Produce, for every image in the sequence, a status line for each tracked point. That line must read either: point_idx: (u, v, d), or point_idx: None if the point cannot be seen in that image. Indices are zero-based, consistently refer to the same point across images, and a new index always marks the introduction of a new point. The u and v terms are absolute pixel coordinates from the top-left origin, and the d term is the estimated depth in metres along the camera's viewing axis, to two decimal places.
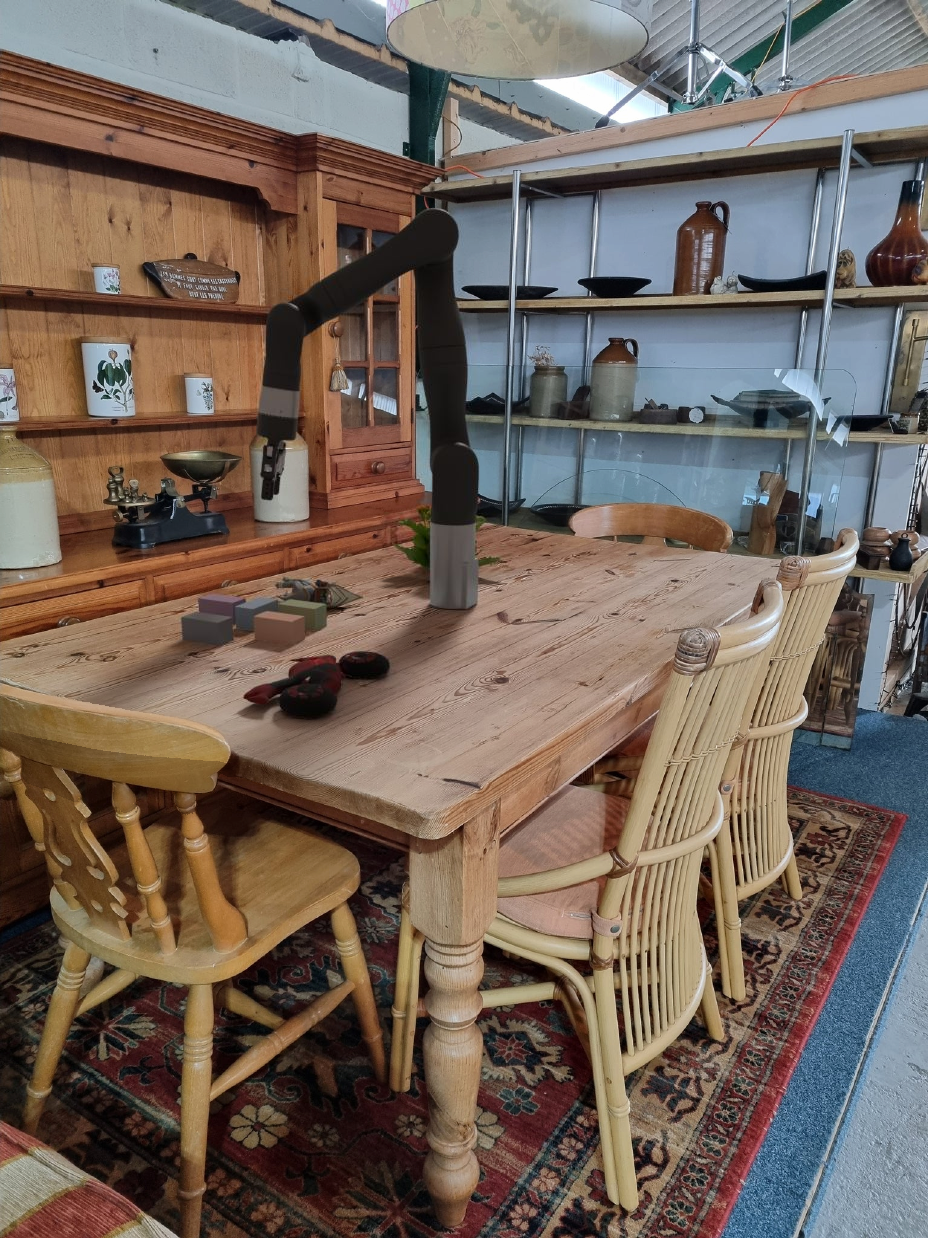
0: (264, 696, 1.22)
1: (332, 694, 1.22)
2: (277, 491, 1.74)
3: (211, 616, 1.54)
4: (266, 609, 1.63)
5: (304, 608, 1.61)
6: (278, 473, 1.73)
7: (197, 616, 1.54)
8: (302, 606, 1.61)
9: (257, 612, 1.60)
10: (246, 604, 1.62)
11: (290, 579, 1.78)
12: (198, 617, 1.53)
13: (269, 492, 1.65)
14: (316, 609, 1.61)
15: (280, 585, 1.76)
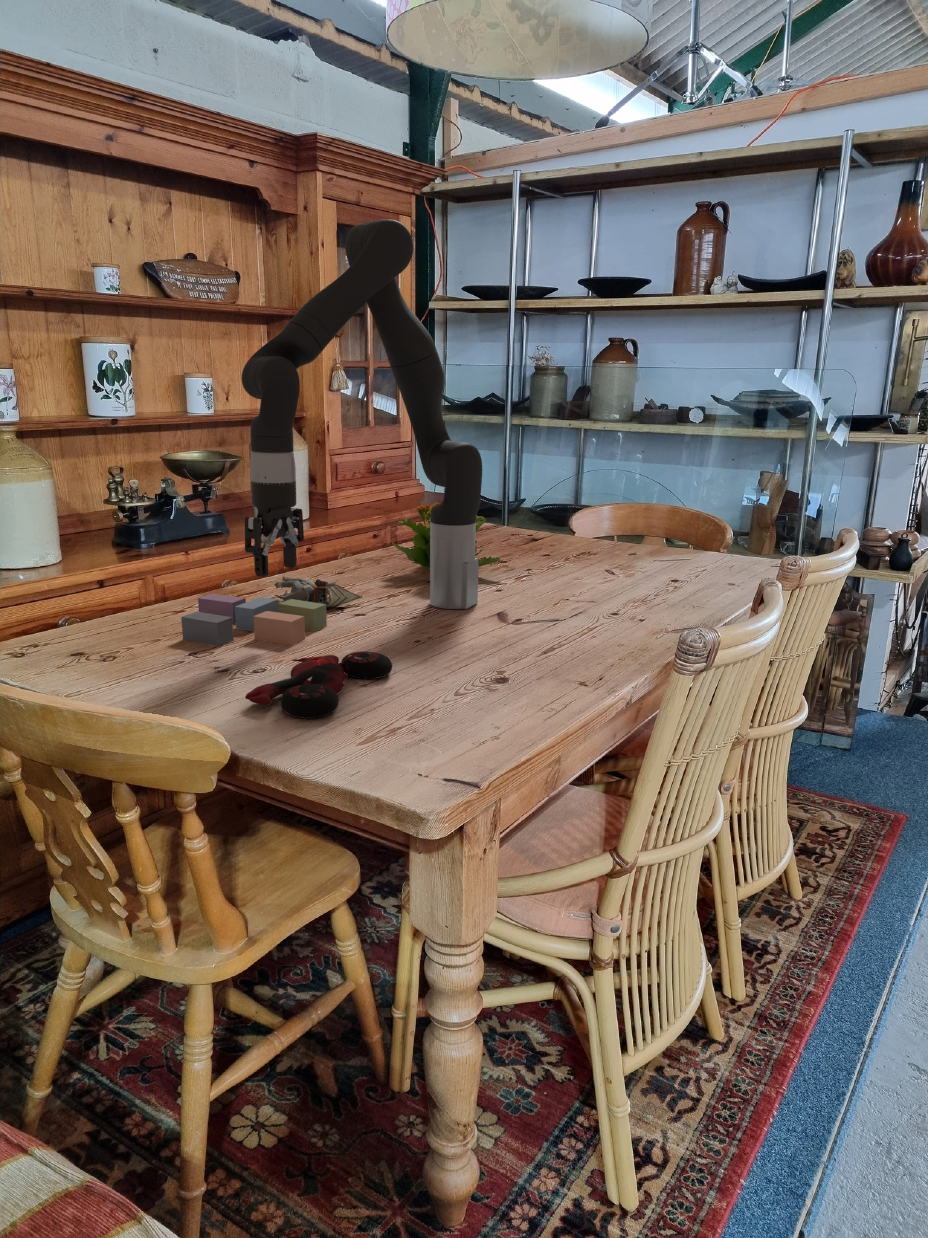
0: (266, 696, 1.22)
1: (334, 694, 1.22)
2: (292, 564, 1.55)
3: (211, 616, 1.54)
4: (266, 609, 1.63)
5: (303, 608, 1.61)
6: (292, 544, 1.55)
7: (197, 616, 1.54)
8: (301, 606, 1.61)
9: (257, 612, 1.60)
10: (246, 604, 1.62)
11: (289, 579, 1.78)
12: (198, 617, 1.53)
13: (260, 568, 1.47)
14: (315, 609, 1.60)
15: (279, 584, 1.76)
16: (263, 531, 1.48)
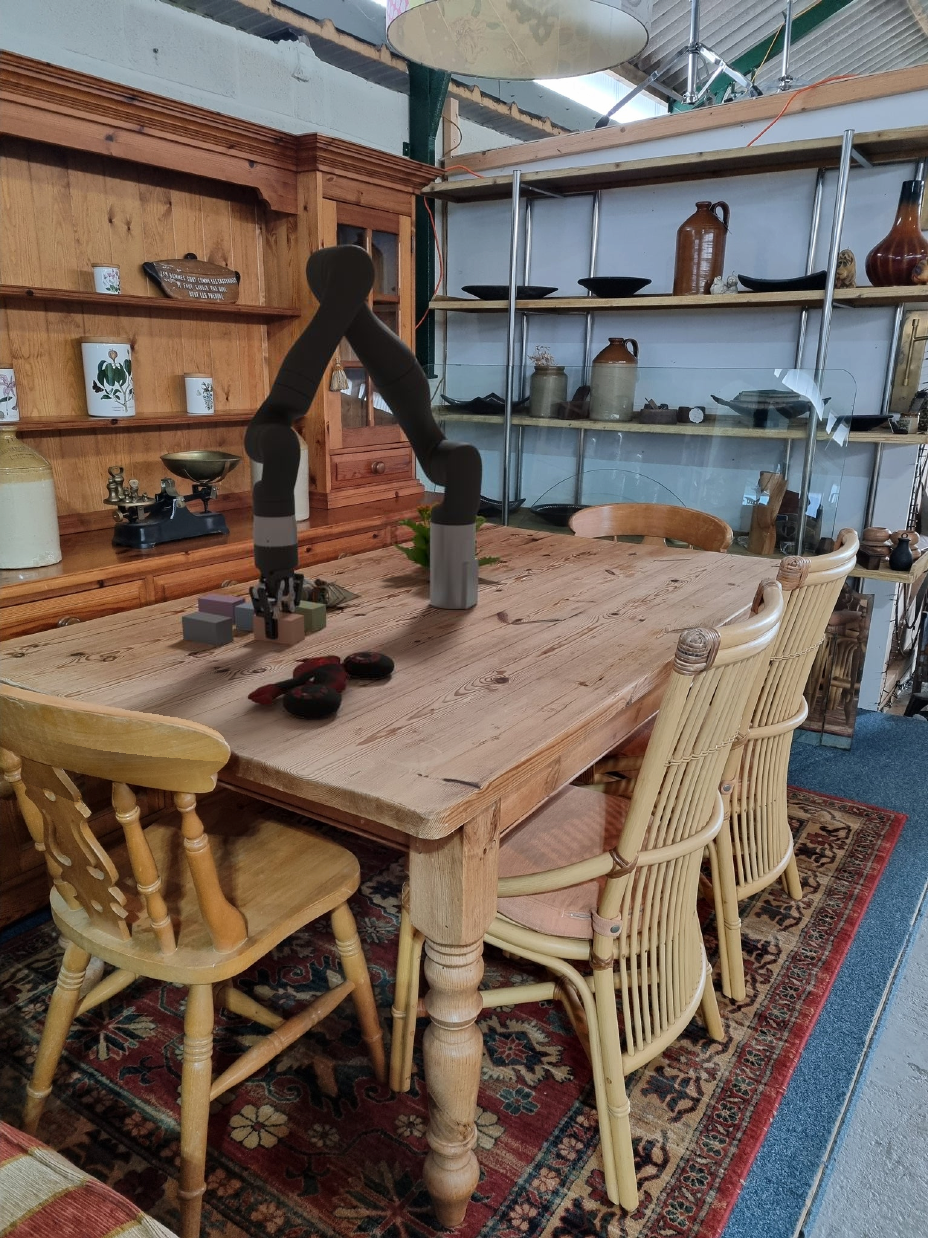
0: (268, 696, 1.22)
1: (336, 694, 1.22)
2: None
3: (211, 616, 1.54)
4: None
5: (302, 608, 1.61)
6: (288, 609, 1.56)
7: (197, 616, 1.54)
8: (301, 606, 1.61)
9: None
10: (246, 604, 1.62)
11: None
12: (198, 617, 1.53)
13: (270, 631, 1.52)
14: (314, 609, 1.60)
15: None
16: None
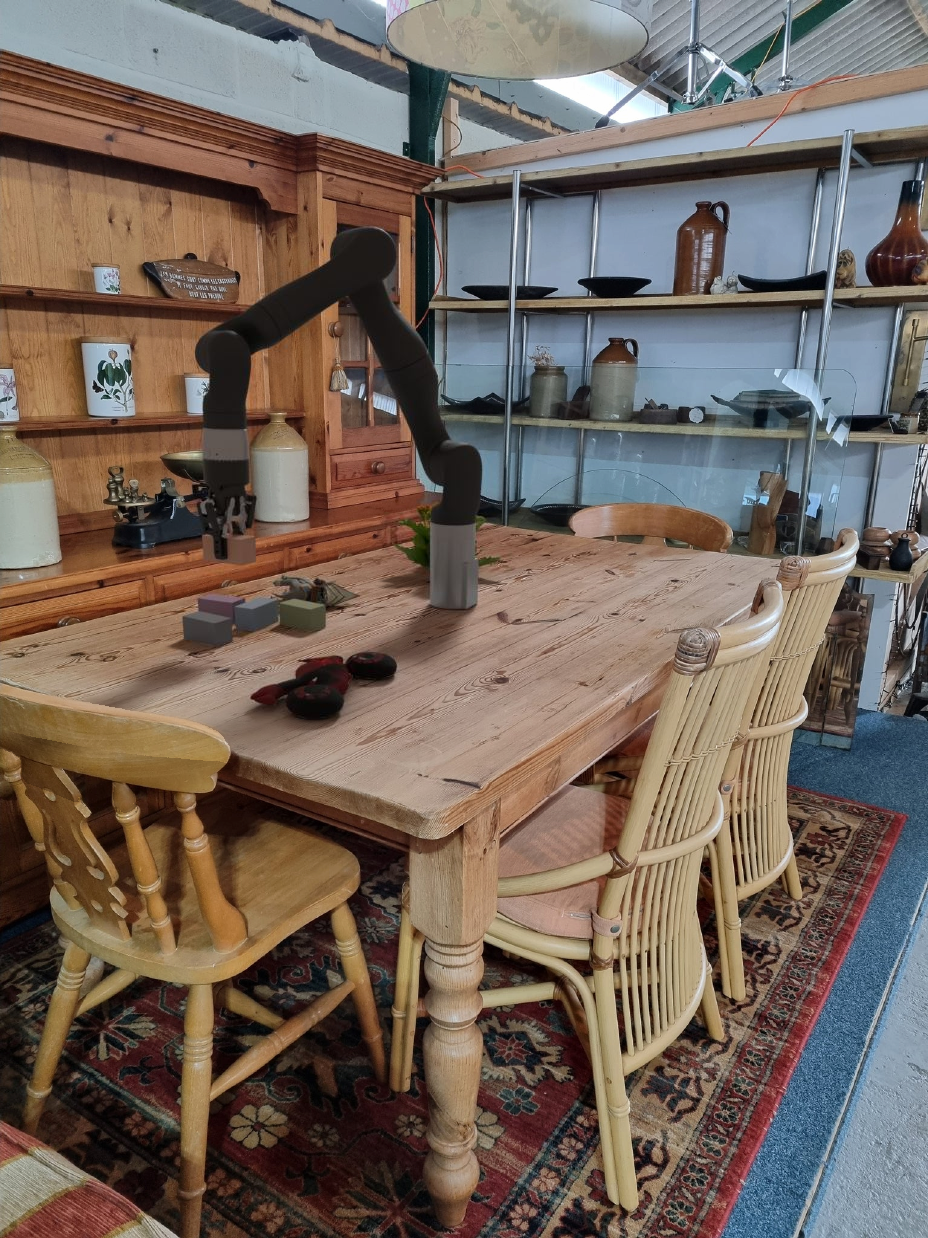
0: (271, 697, 1.22)
1: (339, 695, 1.22)
2: None
3: (211, 616, 1.54)
4: (266, 609, 1.63)
5: (301, 608, 1.61)
6: (239, 531, 1.51)
7: (198, 616, 1.54)
8: (300, 606, 1.61)
9: (257, 612, 1.60)
10: (246, 604, 1.62)
11: (288, 577, 1.79)
12: (198, 617, 1.53)
13: (219, 551, 1.47)
14: (313, 609, 1.60)
15: (278, 583, 1.78)
16: None
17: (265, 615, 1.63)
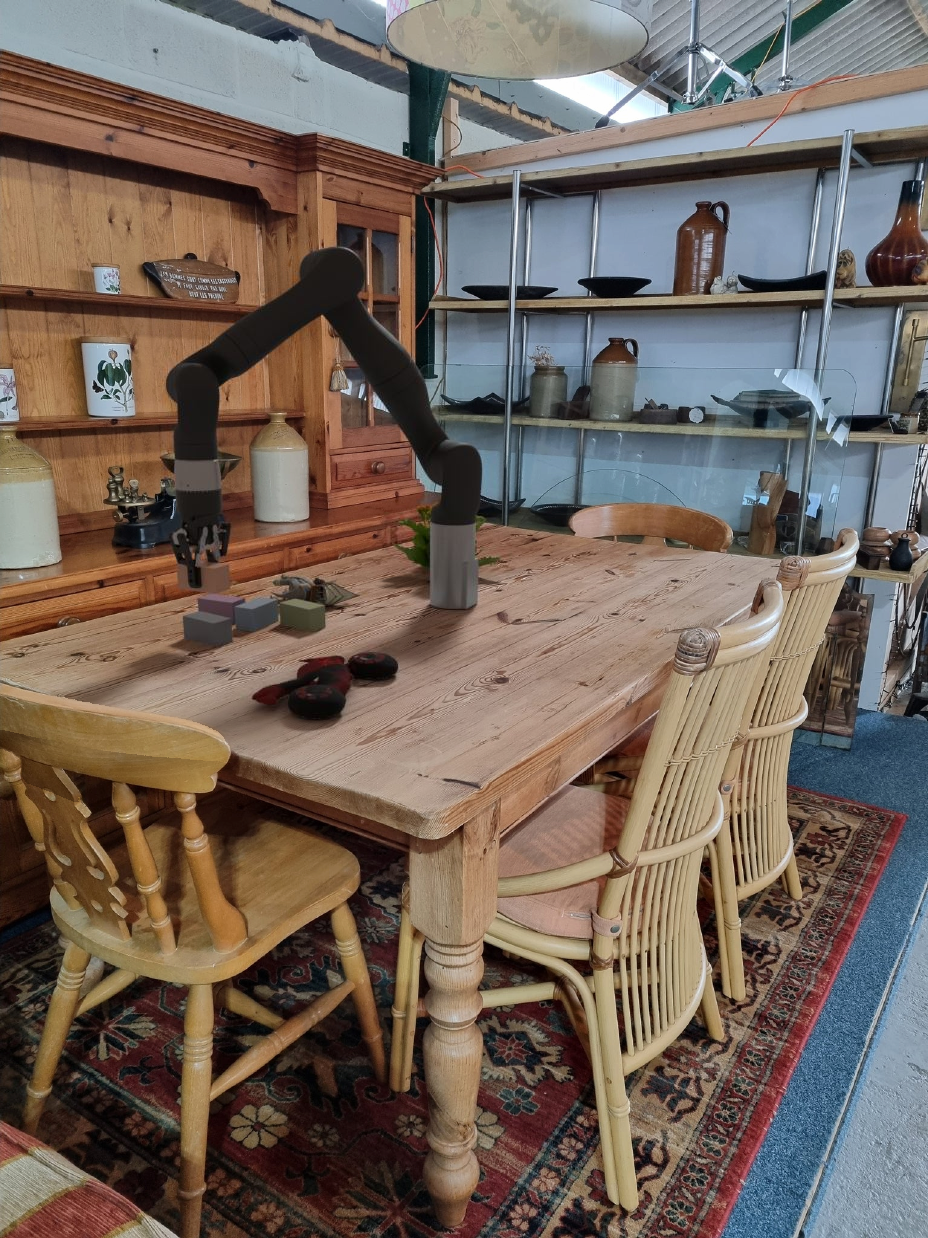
0: (272, 697, 1.22)
1: (341, 695, 1.22)
2: None
3: (211, 616, 1.54)
4: (266, 609, 1.63)
5: (300, 608, 1.61)
6: (213, 559, 1.52)
7: (198, 616, 1.54)
8: (300, 606, 1.61)
9: (257, 612, 1.60)
10: (246, 604, 1.62)
11: (288, 577, 1.80)
12: (198, 617, 1.53)
13: (193, 580, 1.48)
14: (312, 609, 1.60)
15: (277, 582, 1.78)
16: None
17: (265, 615, 1.63)
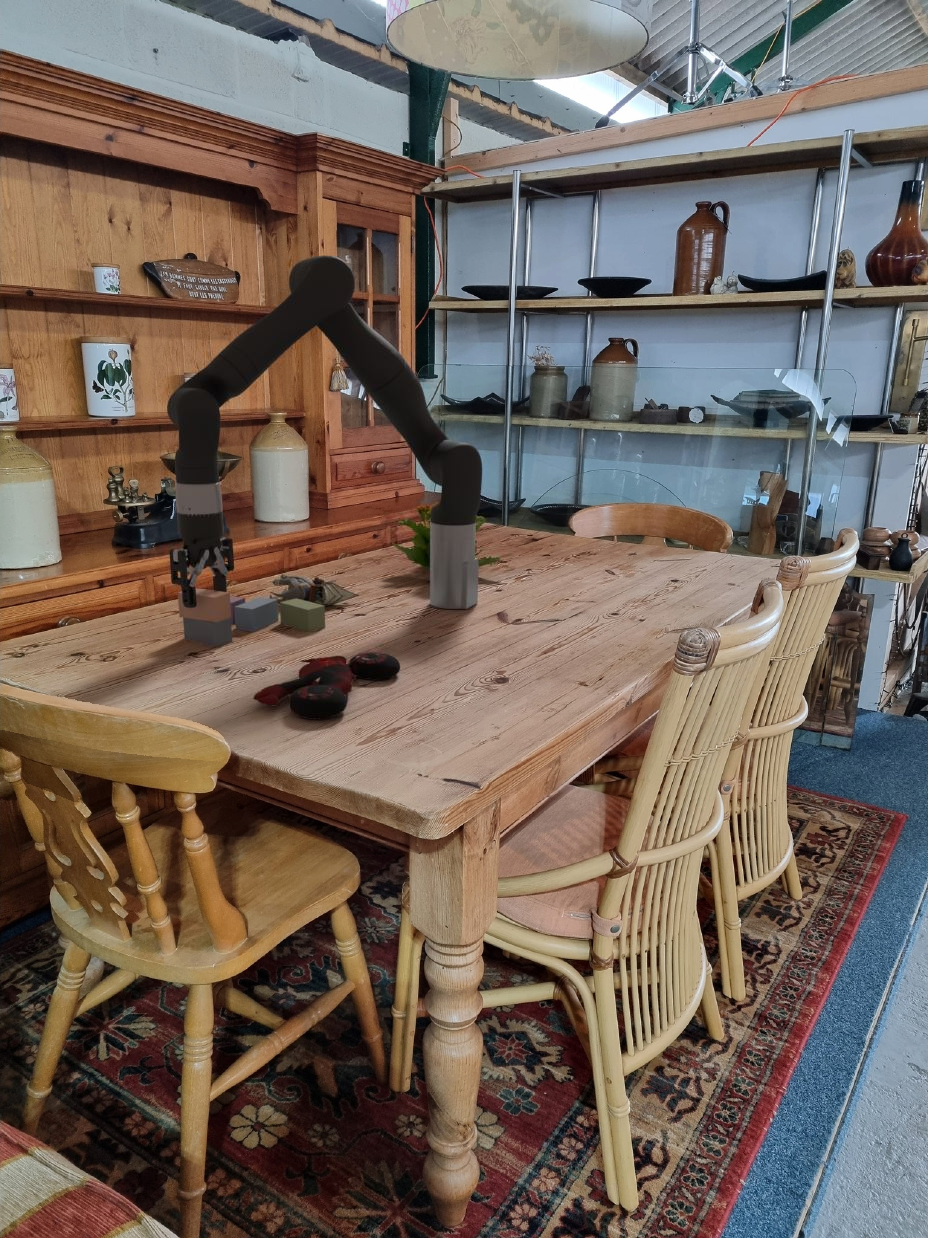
0: (274, 697, 1.22)
1: (342, 695, 1.22)
2: None
3: None
4: (266, 609, 1.63)
5: (300, 608, 1.61)
6: (221, 574, 1.55)
7: None
8: (299, 606, 1.61)
9: (257, 612, 1.60)
10: (246, 604, 1.62)
11: (287, 576, 1.80)
12: None
13: (188, 599, 1.47)
14: (311, 610, 1.60)
15: (277, 582, 1.78)
16: (190, 562, 1.48)
17: (265, 615, 1.63)
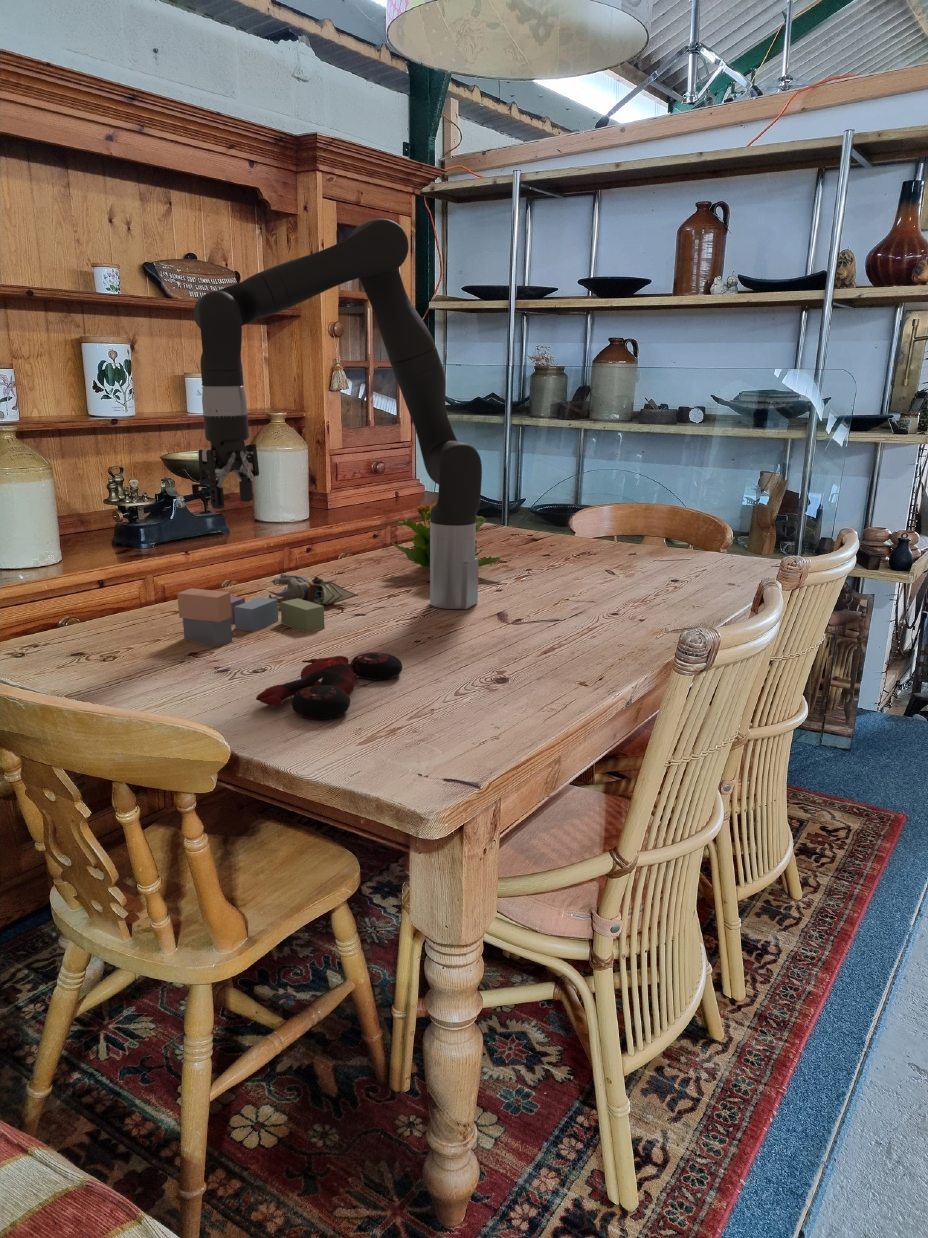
0: (277, 697, 1.22)
1: (345, 695, 1.22)
2: (249, 497, 1.60)
3: None
4: (265, 609, 1.63)
5: (299, 608, 1.61)
6: (247, 478, 1.60)
7: None
8: (298, 606, 1.61)
9: (256, 612, 1.60)
10: (245, 604, 1.62)
11: (287, 575, 1.81)
12: None
13: (216, 500, 1.52)
14: (309, 610, 1.60)
15: (276, 581, 1.79)
16: (217, 464, 1.53)
17: (265, 615, 1.63)
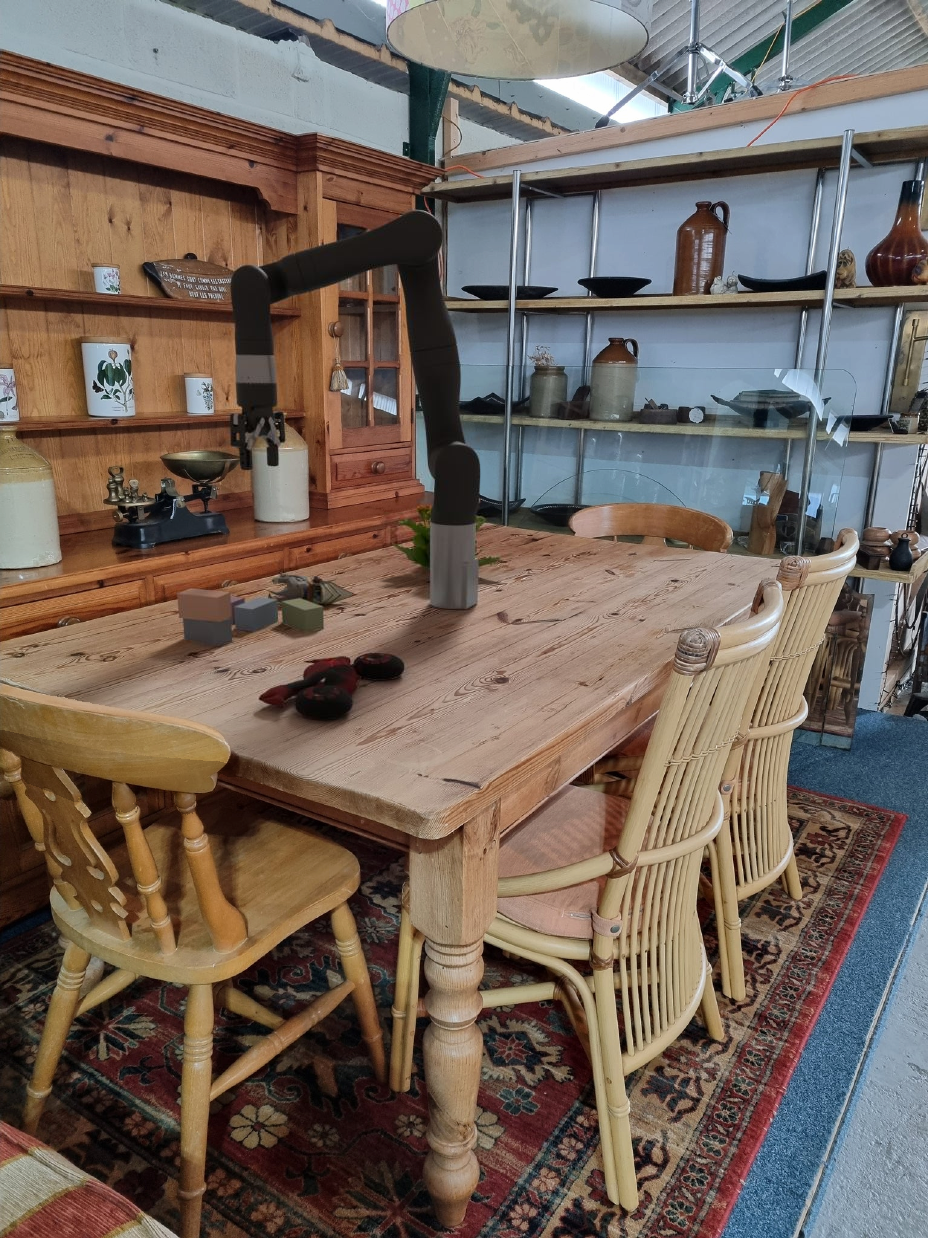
0: (280, 697, 1.22)
1: (348, 695, 1.22)
2: (275, 462, 1.71)
3: None
4: (265, 609, 1.63)
5: (298, 608, 1.61)
6: (274, 444, 1.70)
7: None
8: (298, 606, 1.61)
9: (256, 612, 1.60)
10: (245, 604, 1.62)
11: (287, 575, 1.81)
12: None
13: (245, 461, 1.62)
14: (307, 610, 1.59)
15: (276, 580, 1.80)
16: (247, 428, 1.63)
17: (265, 615, 1.63)
